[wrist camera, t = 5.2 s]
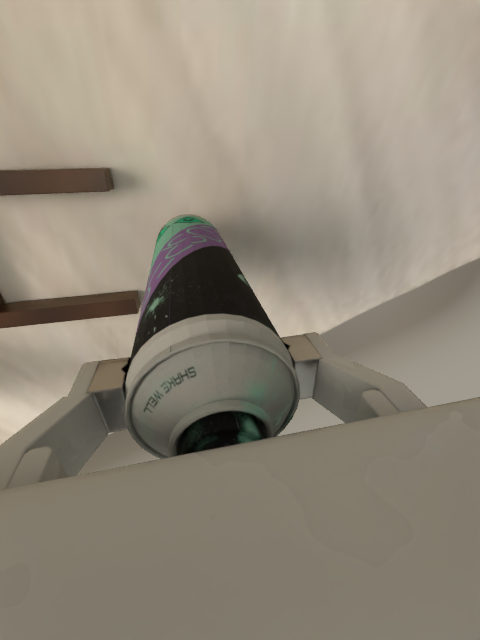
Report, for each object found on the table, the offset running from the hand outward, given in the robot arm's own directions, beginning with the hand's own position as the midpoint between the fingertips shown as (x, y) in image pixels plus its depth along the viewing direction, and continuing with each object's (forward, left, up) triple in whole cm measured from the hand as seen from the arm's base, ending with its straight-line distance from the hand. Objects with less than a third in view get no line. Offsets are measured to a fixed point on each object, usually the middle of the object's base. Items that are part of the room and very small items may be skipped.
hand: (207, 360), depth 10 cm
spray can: (0, 0, -15) cm, 15 cm away
